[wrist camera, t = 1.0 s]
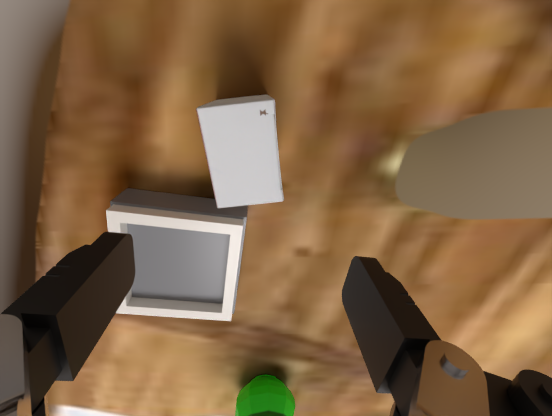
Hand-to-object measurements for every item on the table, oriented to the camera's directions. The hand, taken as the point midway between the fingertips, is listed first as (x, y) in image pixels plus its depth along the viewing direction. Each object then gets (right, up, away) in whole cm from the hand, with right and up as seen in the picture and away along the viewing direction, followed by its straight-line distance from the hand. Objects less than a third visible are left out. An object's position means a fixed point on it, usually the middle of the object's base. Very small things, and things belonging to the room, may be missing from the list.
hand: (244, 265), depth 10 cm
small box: (-2, +10, +20) cm, 22 cm away
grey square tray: (-10, -3, +25) cm, 27 cm away
